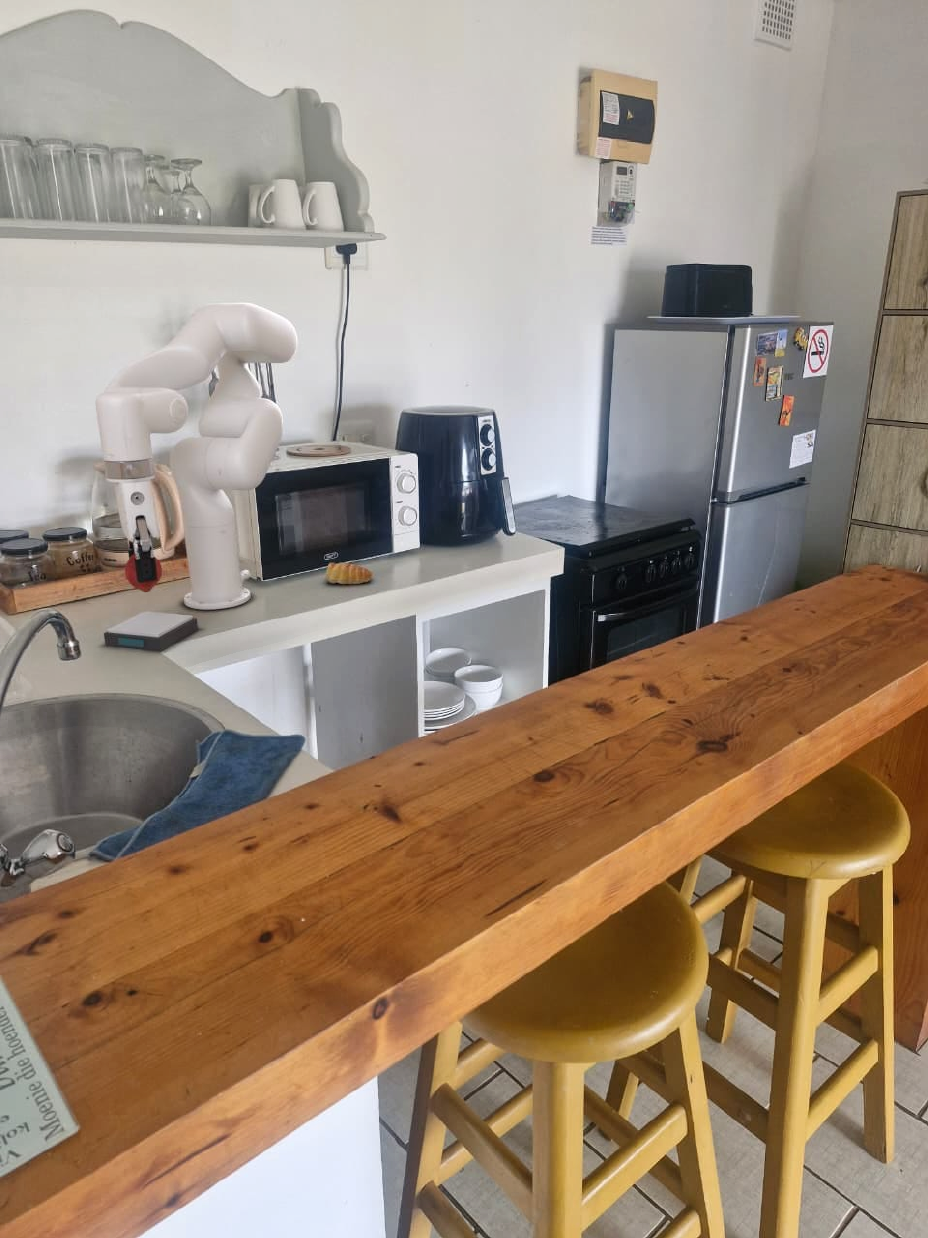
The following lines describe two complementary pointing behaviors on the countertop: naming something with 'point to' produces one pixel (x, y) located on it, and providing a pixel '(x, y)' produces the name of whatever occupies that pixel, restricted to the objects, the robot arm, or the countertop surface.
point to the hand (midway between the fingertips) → (144, 575)
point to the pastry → (347, 573)
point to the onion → (132, 578)
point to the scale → (151, 631)
